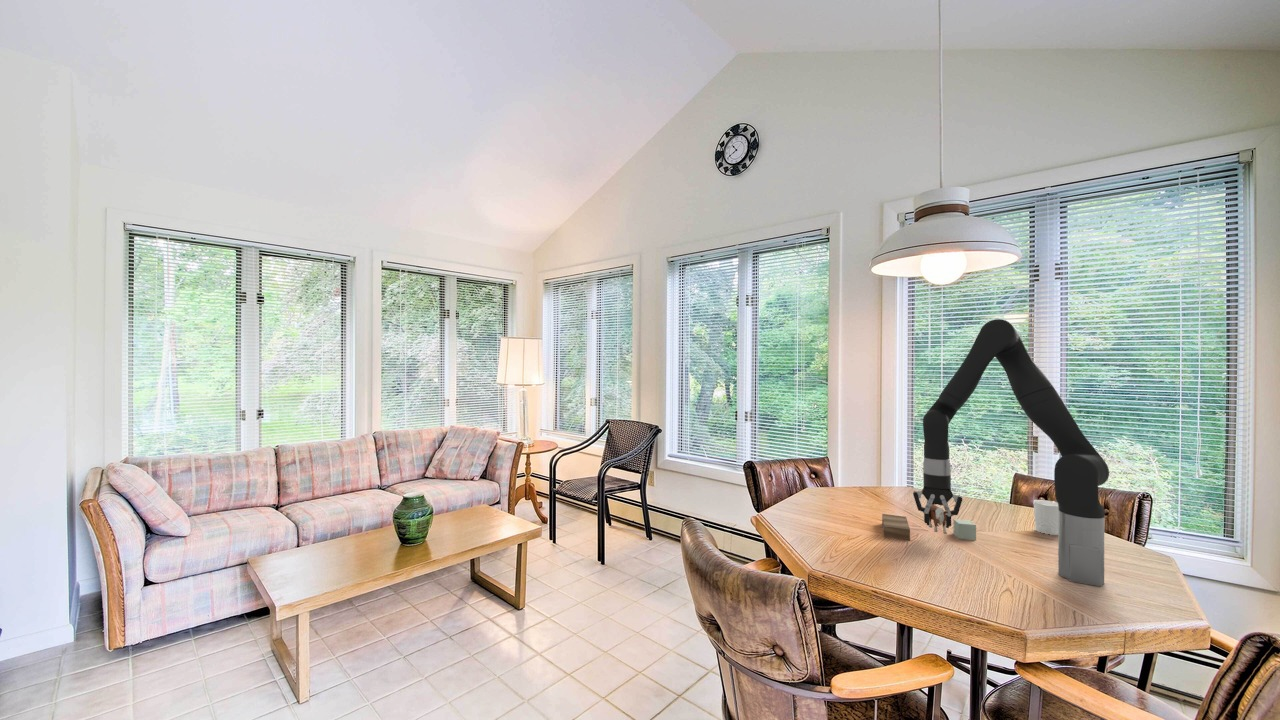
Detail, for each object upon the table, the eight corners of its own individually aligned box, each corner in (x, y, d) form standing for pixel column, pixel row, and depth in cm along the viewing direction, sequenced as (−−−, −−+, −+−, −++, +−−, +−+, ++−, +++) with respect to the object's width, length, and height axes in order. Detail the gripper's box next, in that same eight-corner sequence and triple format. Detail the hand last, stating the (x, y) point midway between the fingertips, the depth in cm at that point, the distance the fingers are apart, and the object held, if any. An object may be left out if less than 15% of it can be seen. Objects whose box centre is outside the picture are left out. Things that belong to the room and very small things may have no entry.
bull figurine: (934, 536, 153) (933, 509, 153) (925, 523, 165) (924, 499, 165) (950, 537, 151) (950, 510, 151) (940, 524, 164) (939, 500, 164)
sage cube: (976, 540, 161) (976, 525, 161) (958, 538, 162) (958, 523, 163) (970, 535, 166) (970, 520, 166) (953, 533, 167) (953, 519, 167)
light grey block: (1028, 530, 172) (1028, 501, 172) (1041, 527, 175) (1041, 498, 175) (1055, 537, 164) (1055, 507, 165) (1068, 534, 168) (1068, 504, 168)
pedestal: (909, 542, 160) (910, 529, 160) (884, 538, 163) (884, 526, 163) (906, 528, 174) (906, 516, 174) (882, 525, 177) (882, 513, 177)
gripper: (911, 472, 159) (911, 525, 158) (964, 476, 152) (965, 533, 151) (911, 468, 165) (912, 520, 165) (962, 472, 158) (963, 526, 158)
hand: (937, 525), depth 158 cm, fingers closed on bull figurine, 4 cm apart
